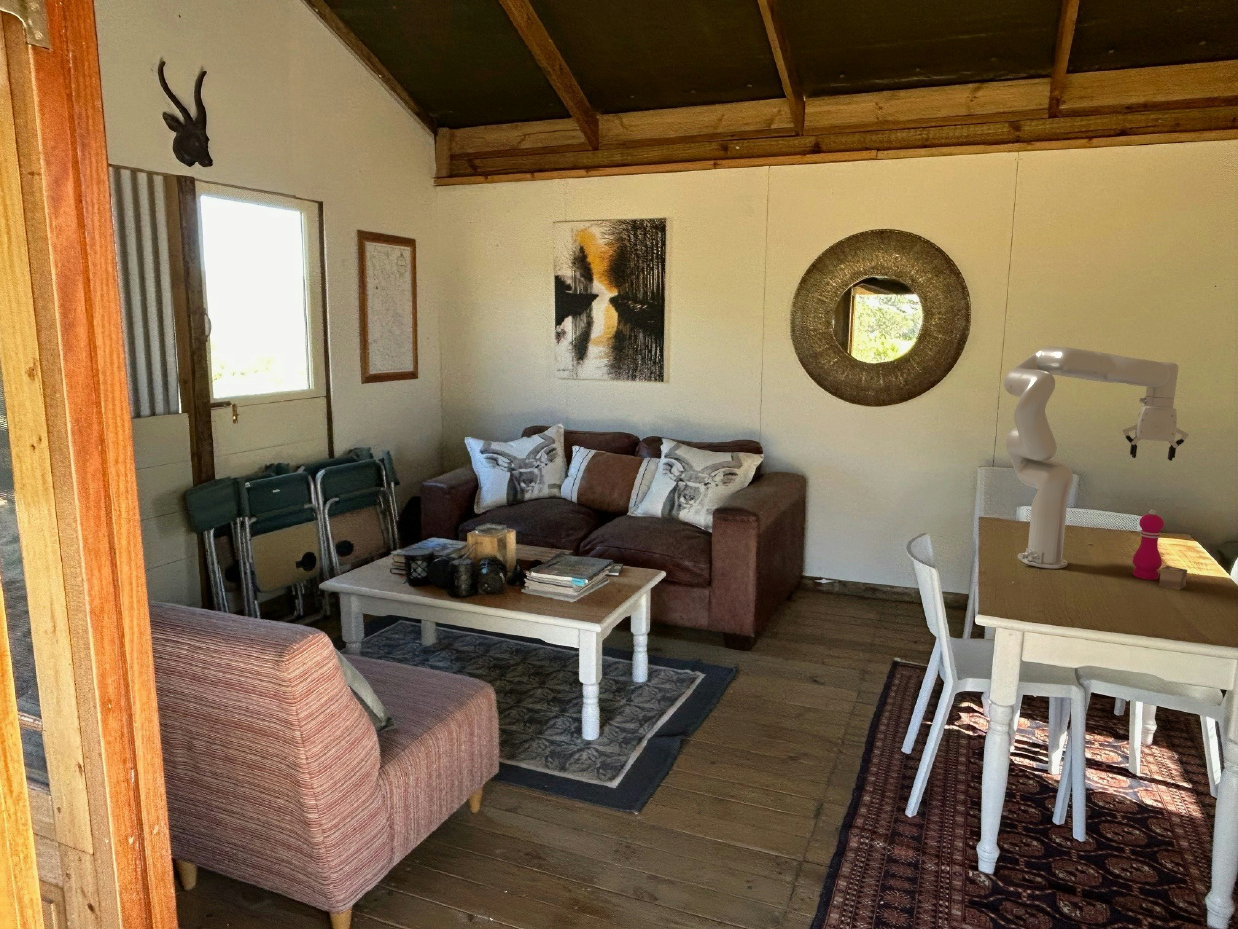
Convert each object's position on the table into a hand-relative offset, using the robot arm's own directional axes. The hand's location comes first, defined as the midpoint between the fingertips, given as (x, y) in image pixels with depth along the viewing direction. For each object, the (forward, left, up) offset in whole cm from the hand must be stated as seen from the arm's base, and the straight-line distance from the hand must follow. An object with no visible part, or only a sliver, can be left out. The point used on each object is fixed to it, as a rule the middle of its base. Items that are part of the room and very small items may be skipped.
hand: (1151, 458), depth 266 cm
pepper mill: (-17, -13, -32) cm, 38 cm away
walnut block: (-19, -22, -32) cm, 43 cm away
